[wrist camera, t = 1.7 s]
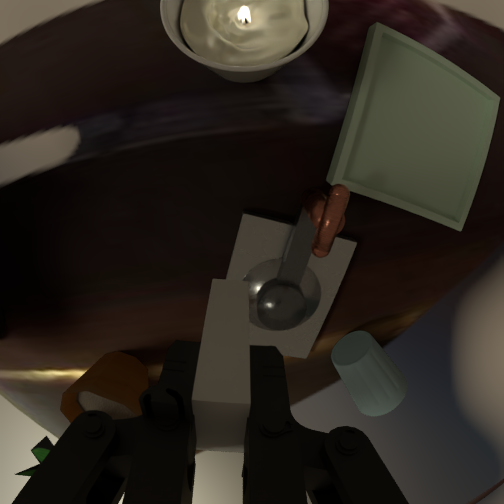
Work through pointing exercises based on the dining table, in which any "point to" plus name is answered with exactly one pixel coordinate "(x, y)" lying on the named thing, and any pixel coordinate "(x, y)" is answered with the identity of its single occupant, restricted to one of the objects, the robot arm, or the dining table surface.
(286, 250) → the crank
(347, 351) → the cup
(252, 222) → the crank plate
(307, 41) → the candle holder
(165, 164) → the dining table surface
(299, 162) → the dining table surface
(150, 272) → the dining table surface
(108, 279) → the dining table surface
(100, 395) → the potted plant
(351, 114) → the tray
